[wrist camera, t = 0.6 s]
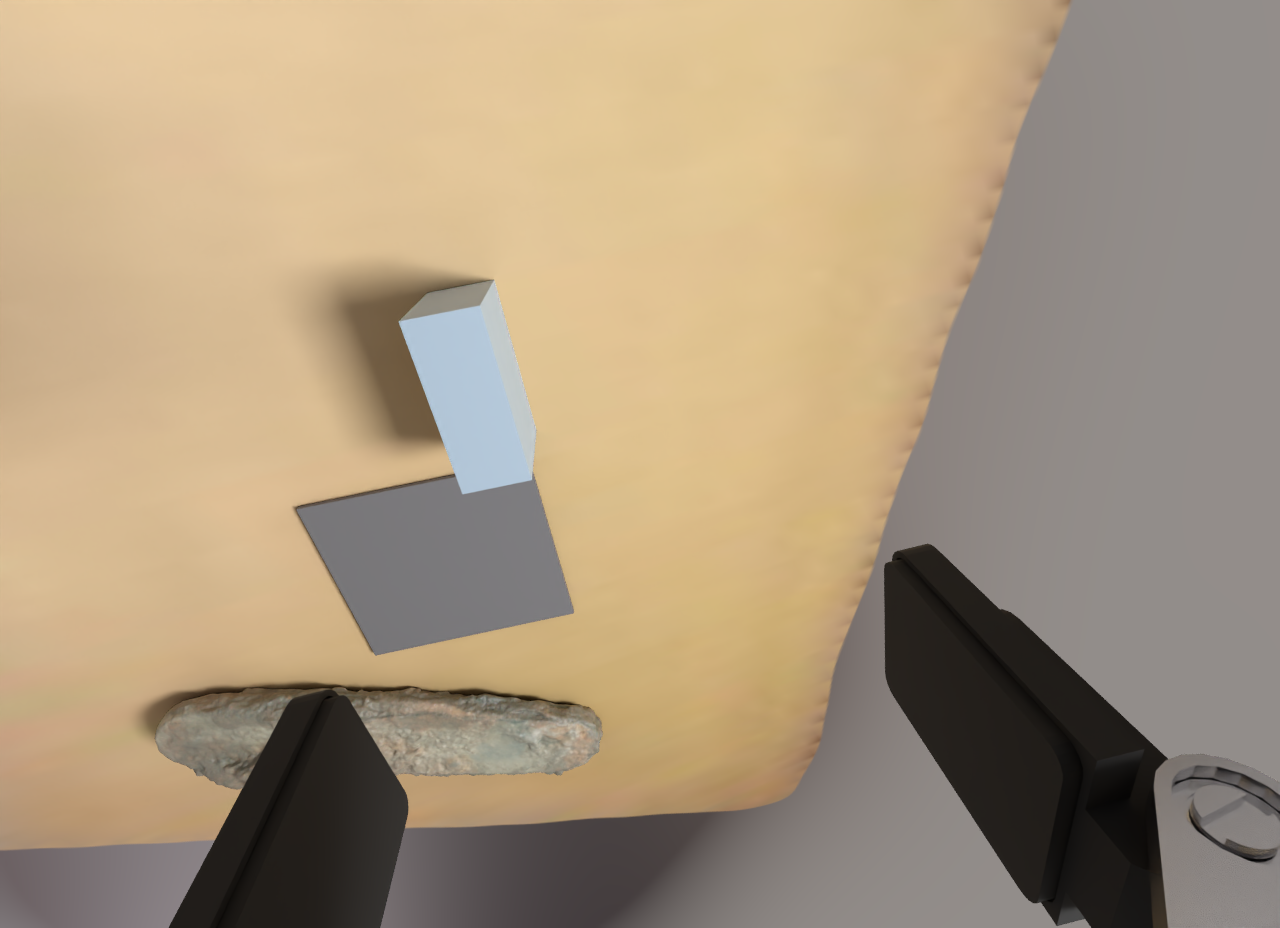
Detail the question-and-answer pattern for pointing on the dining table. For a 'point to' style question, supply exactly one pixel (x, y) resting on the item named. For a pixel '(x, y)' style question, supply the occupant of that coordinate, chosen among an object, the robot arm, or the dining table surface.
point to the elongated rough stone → (389, 732)
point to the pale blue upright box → (473, 384)
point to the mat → (440, 560)
